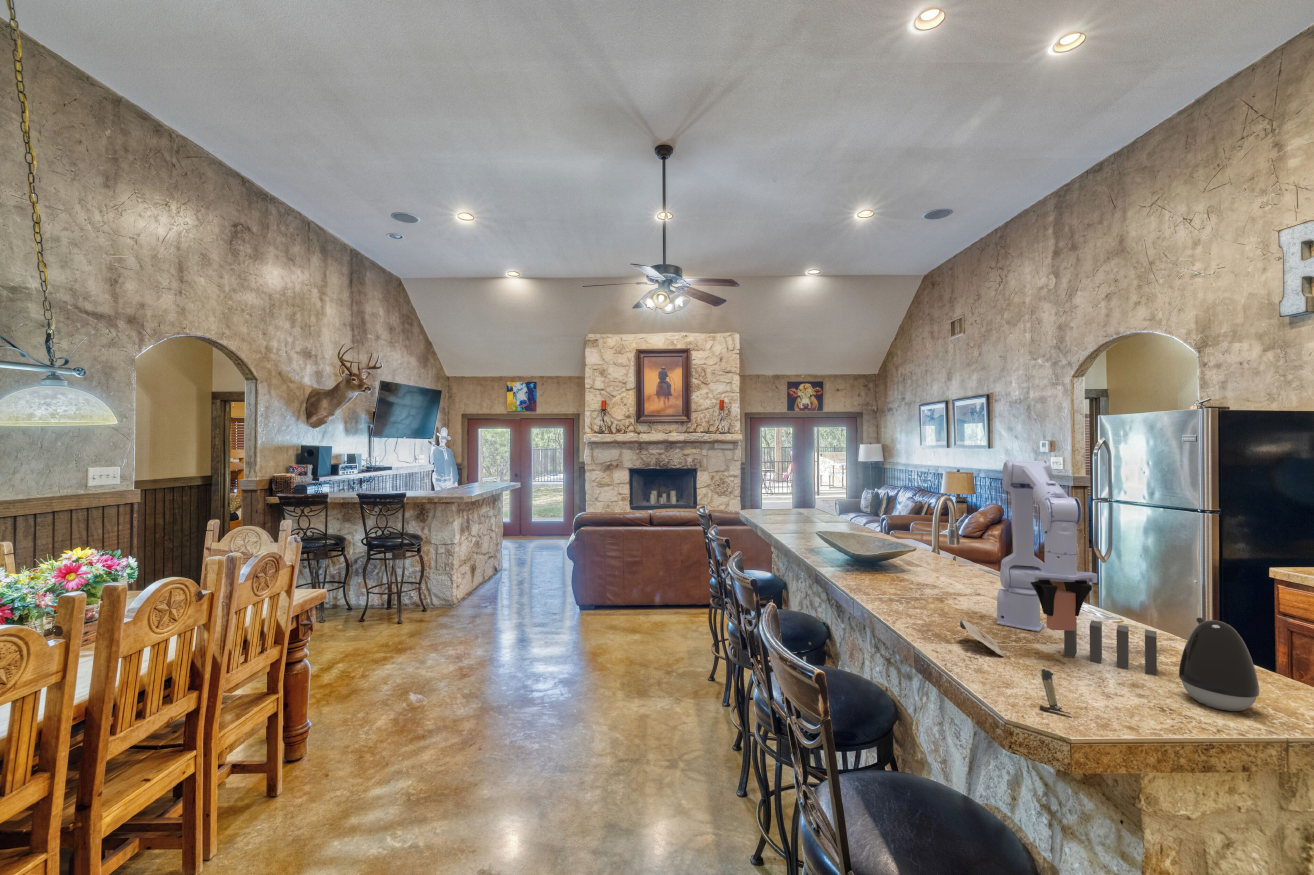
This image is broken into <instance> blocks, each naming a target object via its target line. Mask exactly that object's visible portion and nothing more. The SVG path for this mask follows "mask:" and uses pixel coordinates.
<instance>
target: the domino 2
mask: <svg viewBox="0 0 1314 875" xmlns="http://www.w3.org/2000/svg"><path fill="white" fill-rule="evenodd" d="M1102 659H1103V622H1102V621H1100V620H1094V619H1092V620H1090V623H1089V662H1090V663H1094V664H1098V665H1102V664H1101V663H1102Z"/></svg>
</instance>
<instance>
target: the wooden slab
mask: <svg viewBox="0 0 1314 875" xmlns="http://www.w3.org/2000/svg"><path fill="white" fill-rule="evenodd" d="M959 626H960V628H961V629H962V630H966V633H968V634H969V635H970V636H971V637H972V638H975V640H976V642H975V644H974V645H973V647H975V646H977V645H978V644H982V645H983V644H984V645H985V646H987V647H988V648H989V649H990V650H992V651H994V652H995V653H996V654H998V655H999V656H1001V657H1005V656H1006V655H1005V653H1004V652H1003V651H1002V649H1001V647H1000V644H999V643H998V642H997V641H996V640H995V639H994V638H992V637H991V636H990V635H988V634H987V633H986V632H984V631H982V630H981V629H980V628H979V627H977V626H976V625H974V624H972V623H971V622H968V621H964V620H960V622H959Z"/></svg>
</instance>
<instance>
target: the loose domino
mask: <svg viewBox="0 0 1314 875" xmlns="http://www.w3.org/2000/svg"><path fill="white" fill-rule="evenodd" d="M1075 610H1076V593H1073V592H1070V591H1066V590H1065V591H1064V590H1057V591H1056V594H1055V598H1054V613H1053V616H1048V615H1046V628H1047V629H1049V630H1052V631H1064V630H1073V631H1076V617H1077V616H1075Z"/></svg>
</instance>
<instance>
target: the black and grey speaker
mask: <svg viewBox="0 0 1314 875" xmlns="http://www.w3.org/2000/svg"><path fill="white" fill-rule="evenodd" d="M1195 620H1196V622H1197V624H1198V625H1196V626H1195V627H1194V629H1193V630H1192V631H1191V633H1190V635H1189V637H1188V639H1187V641H1186V643H1185V645H1184V648H1183V650H1182V654H1181V657H1180V663H1179V670H1178V677H1179V679H1180V680H1181V683H1182V686H1183V687H1184V689H1185V691H1186V692H1187V693H1188V695H1190V697H1192V698H1193V700H1196V701H1197V702H1199V703H1200V704H1203V705H1205V706H1207V707H1210V708H1213V709H1218V710H1220V711H1226V712H1227V711H1228V712H1240V711H1245V710H1248V709H1250V707H1252V706H1253V705H1254V704H1255V701H1256V699H1257V697H1259V696H1260V684H1259V679H1258V675H1257V671H1256V668H1255V665H1254V663H1253V659H1252V656H1251V654H1250V652H1249V649H1248V647H1247V645H1246V643H1245V641H1244V640H1243V638H1242V636H1241V635H1240V634H1239V633H1238V631H1237V630H1236V629H1235V628H1234V627H1232V626H1231V625H1230V624H1227V623H1226V622H1224V621H1220V620H1215V619H1214V620H1212V619H1210V620H1208V619H1207V620H1205V619H1204V618H1203V617H1197V618H1195Z"/></svg>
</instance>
